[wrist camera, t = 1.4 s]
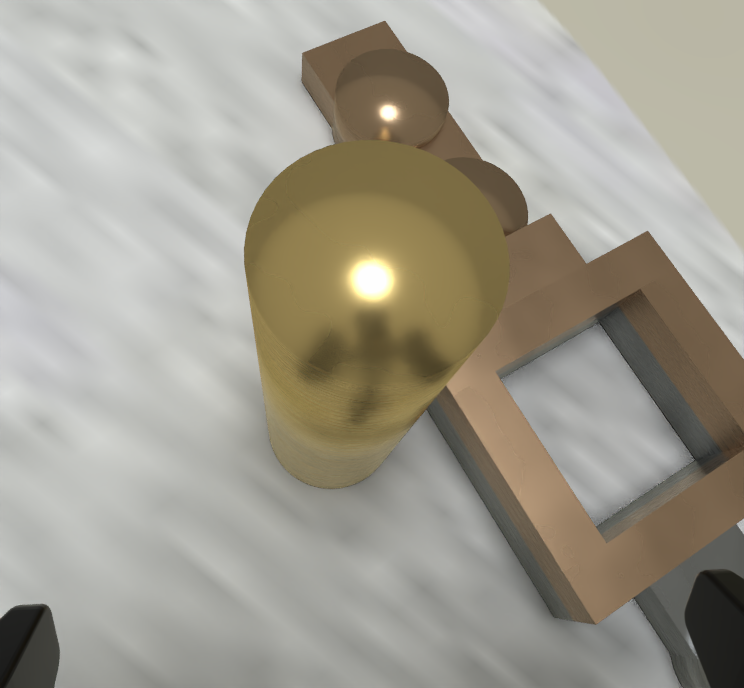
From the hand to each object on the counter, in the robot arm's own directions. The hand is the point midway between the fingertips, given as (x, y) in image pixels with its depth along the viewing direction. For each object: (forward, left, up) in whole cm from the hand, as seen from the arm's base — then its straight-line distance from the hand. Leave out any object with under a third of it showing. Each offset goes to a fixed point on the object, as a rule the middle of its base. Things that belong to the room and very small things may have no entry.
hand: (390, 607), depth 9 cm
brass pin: (+4, -2, -12) cm, 13 cm away
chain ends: (0, -10, -12) cm, 15 cm away
